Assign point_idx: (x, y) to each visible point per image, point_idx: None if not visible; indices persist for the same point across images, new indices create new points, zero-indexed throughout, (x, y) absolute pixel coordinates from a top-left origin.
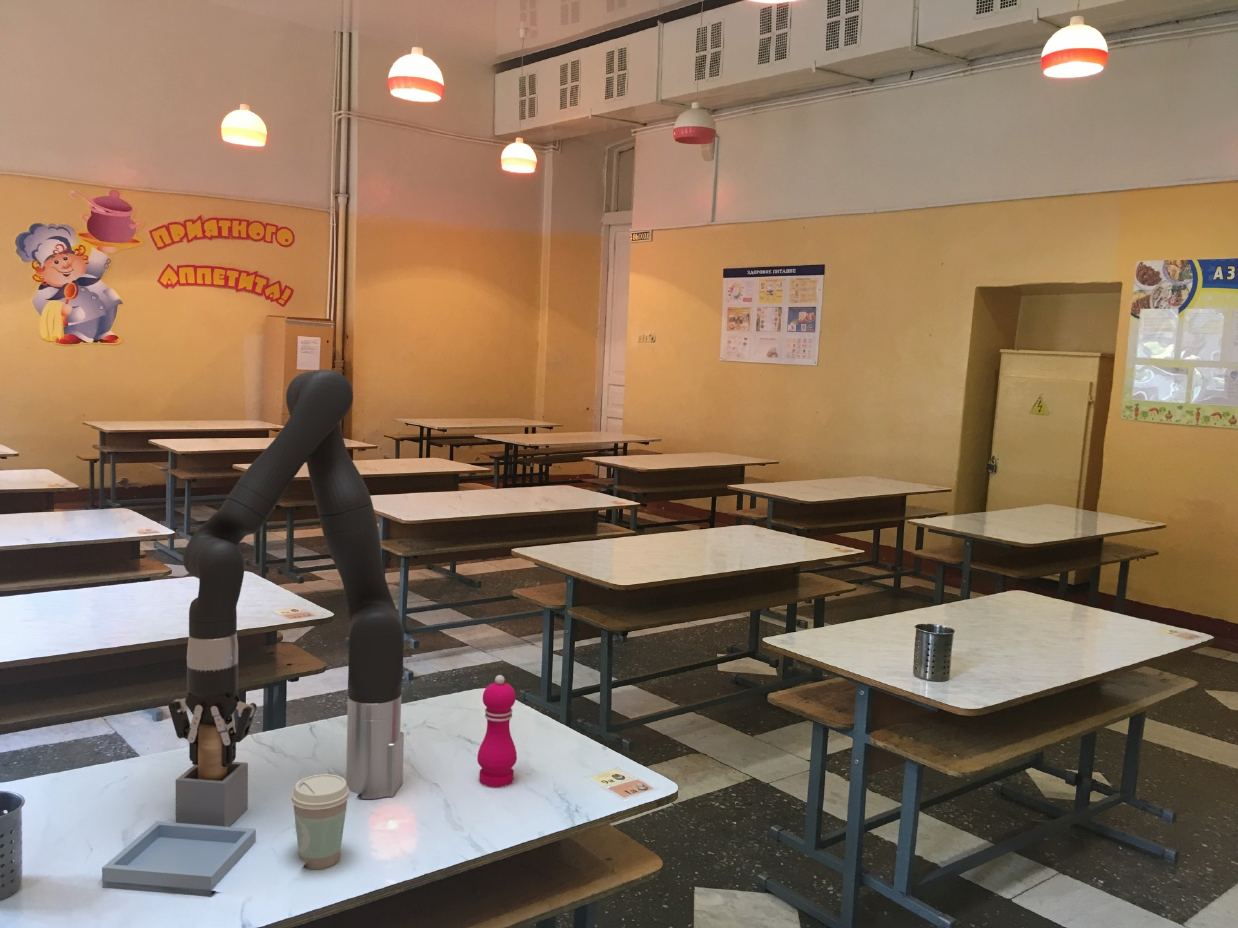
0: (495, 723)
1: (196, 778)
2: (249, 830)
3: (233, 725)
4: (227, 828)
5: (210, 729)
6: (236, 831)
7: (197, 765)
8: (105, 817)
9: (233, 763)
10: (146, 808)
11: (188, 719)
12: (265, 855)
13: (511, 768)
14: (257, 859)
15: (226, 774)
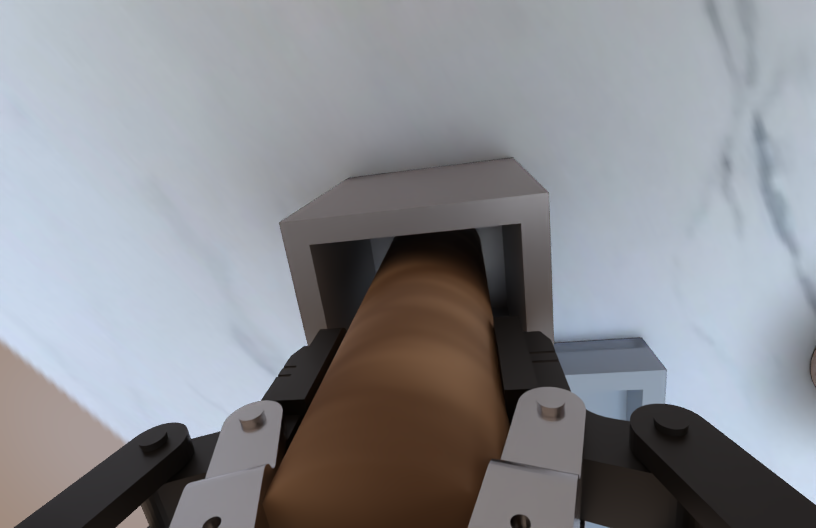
0: None
1: (339, 288)
2: (648, 380)
3: (579, 500)
4: (569, 383)
5: None
6: (605, 389)
7: (314, 292)
8: (131, 284)
9: (473, 223)
10: (184, 207)
11: (97, 518)
12: (690, 368)
13: None
14: (675, 390)
15: (491, 309)
